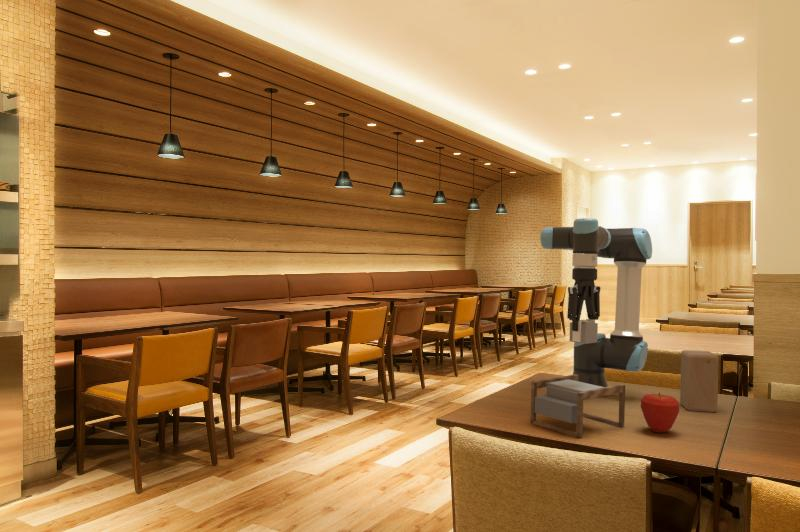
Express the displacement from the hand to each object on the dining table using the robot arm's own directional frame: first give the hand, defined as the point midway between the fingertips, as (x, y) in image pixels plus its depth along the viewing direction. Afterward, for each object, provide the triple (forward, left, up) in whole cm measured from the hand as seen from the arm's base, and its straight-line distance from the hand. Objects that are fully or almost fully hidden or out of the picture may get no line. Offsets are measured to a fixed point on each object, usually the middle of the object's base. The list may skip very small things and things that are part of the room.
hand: (583, 340), depth 184 cm
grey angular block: (0, -5, -23) cm, 23 cm away
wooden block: (+10, +53, -27) cm, 60 cm away
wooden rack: (0, -2, -27) cm, 27 cm away
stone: (0, 0, 0) cm, 0 cm away
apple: (+18, +14, -27) cm, 35 cm away
